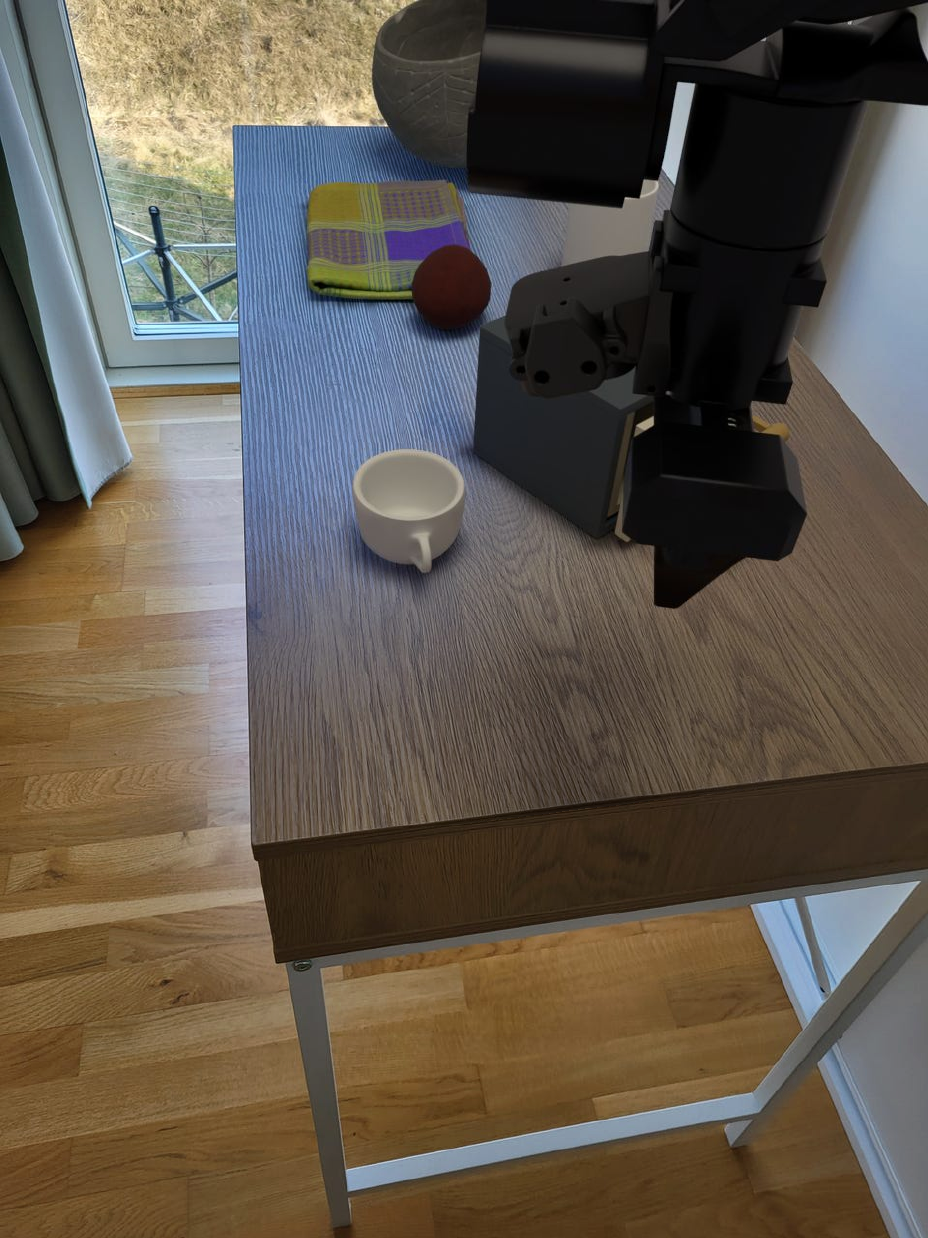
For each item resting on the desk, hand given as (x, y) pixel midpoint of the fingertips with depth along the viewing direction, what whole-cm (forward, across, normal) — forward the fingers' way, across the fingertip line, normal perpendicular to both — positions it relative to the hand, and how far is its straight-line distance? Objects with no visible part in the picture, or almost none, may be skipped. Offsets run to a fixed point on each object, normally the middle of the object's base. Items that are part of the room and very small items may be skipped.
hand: (664, 539), depth 46 cm
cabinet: (+15, -27, -3) cm, 31 cm away
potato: (+16, -47, -17) cm, 52 cm away
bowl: (+14, -88, -20) cm, 91 cm away
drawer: (+14, -23, +1) cm, 28 cm away
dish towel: (+16, -61, -26) cm, 68 cm away
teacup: (+16, -14, -15) cm, 26 cm away
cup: (+16, -60, -2) cm, 62 cm away
